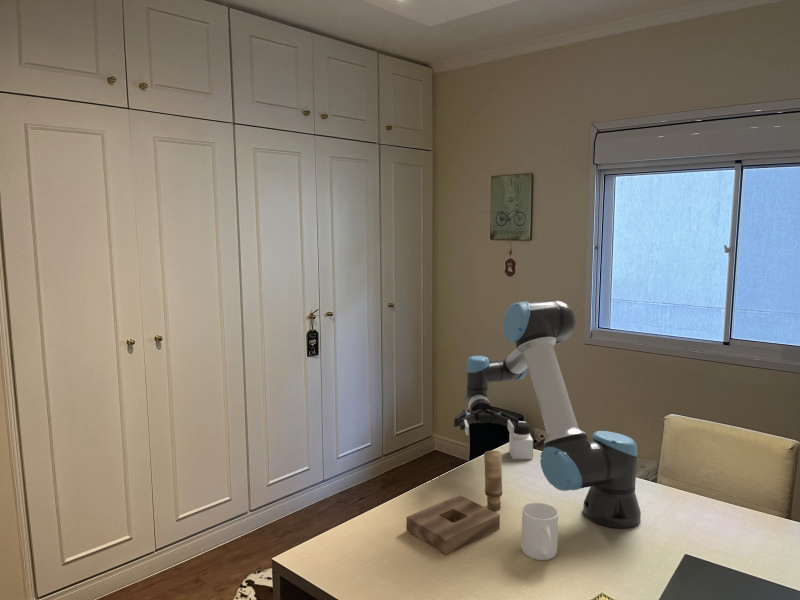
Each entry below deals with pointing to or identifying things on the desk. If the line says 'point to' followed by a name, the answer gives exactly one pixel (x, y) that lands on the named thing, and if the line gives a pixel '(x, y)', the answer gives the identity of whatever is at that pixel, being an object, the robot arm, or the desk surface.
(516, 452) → the medicine bottle
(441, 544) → the seat board
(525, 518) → the mug
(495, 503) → the oak leg
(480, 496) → the desk surface
